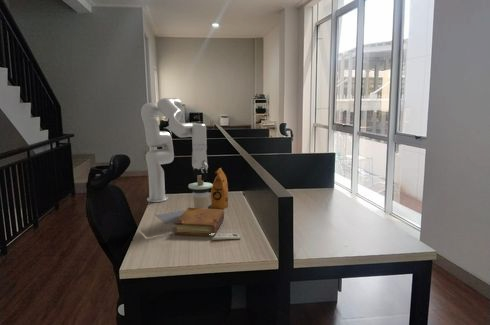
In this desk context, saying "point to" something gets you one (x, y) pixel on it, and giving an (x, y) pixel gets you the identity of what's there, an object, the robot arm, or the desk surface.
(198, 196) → the coffee cup
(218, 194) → the coffee package
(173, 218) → the mat
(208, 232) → the diary
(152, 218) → the desk surface
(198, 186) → the lid
